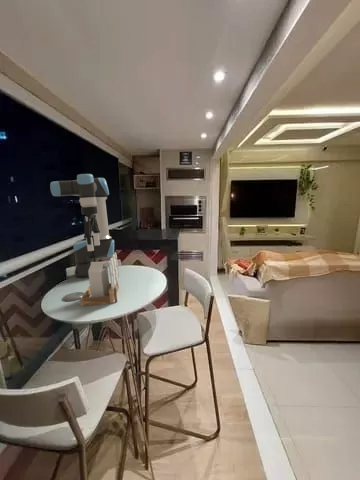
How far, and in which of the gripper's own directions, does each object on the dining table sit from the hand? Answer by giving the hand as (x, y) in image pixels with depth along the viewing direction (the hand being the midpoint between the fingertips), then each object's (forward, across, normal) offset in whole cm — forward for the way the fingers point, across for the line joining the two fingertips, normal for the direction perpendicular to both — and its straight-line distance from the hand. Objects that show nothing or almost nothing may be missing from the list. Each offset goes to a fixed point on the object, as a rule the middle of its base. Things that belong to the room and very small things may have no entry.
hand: (94, 248), depth 132 cm
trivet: (+26, -3, -15) cm, 30 cm away
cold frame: (+26, 0, 0) cm, 27 cm away
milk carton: (+27, 0, 0) cm, 27 cm away
